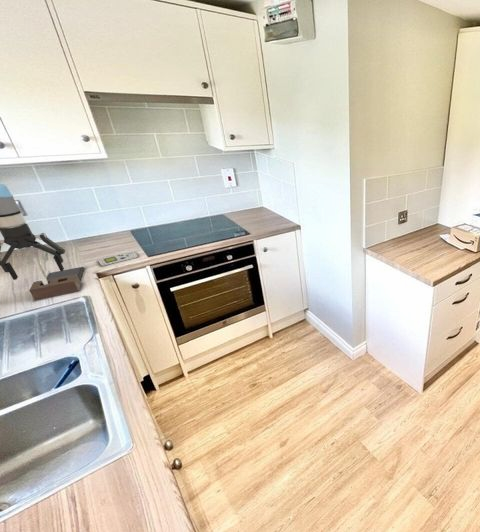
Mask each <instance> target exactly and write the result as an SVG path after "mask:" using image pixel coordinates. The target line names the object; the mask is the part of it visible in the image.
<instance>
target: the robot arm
mask: <svg viewBox="0 0 480 532" xmlns="http://www.w3.org/2000/svg"><path fill="white" fill-rule="evenodd" d="M26 222H27V221H26V218H25V217H24V215H23V213H22V211H21V210H20V208H19V205H18V204H17V202H16V200H15V198H14V195H13V194H12V192H11V191H10V190H9V188H8V187H7V185H5V184H4V183H0V234H1V236H2V238H3V239H0V252H2V246H3V245H4V244H6V245H7V246H10V247H8V249H7V251H6V253H5V254H4V256H3V257H2V259H1V260H0V267H1V268H2V270H3V271H4V273H9V276H10V277H11V278H12V280H13V281H16V280H18V278H19V276H18V274H17V272H16V271H15V269H14V267H13V265H12V264H11V262H8V260H9V258H10V257H11V255H12V254H13V252H14V251H15V249H17V250H22V249H29V248H31V247H32V248H36V249H38V250H40V251H42V252H45V253H48V254H50V255H52V256H53V260H54V262H55V263H56V266H57V268H58V269H59V271H63V270H65V267H64V265H63V263H64V258H63V257H62V255H64V254H65V252H66V250H65V249H64V248H63V247H62V246H60V245H59V244H58V243H56V242H54V241H53V240H52V239H50V238H49V237H48V236H47V235H46V233H44V232H42V233H39V234H36V235H35V234H34V233H33V232H32V230H31V228H30V226H29V224H28V223H26ZM37 239H38V240H40V241H42V242H43V243H45V245H44V244H42V243H40V242H39V241H37ZM46 245H48V246H46Z"/></svg>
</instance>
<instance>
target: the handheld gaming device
mask: <svg viewBox="0 0 480 532" xmlns="http://www.w3.org/2000/svg"><path fill="white" fill-rule="evenodd" d="M138 257H139V256H138V255H137V253H136V252H135V251H129V252H125V253H120V254H117V255H111V256H108V257H103V258H99V259H98V260H97V261H98V263H99V265H100V266H101V267H104V266H108V265H113V264H116V263H120V262H124V261H127V260H132V259H135V258H138Z"/></svg>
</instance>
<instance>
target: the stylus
mask: <svg viewBox="0 0 480 532" xmlns="http://www.w3.org/2000/svg"><path fill="white" fill-rule="evenodd" d="M32 261H33V263H34V265H35V268H36V270H37V273H38V275H39V277H40V281H42V282H43V285H46V284H49V283H48V281H47V276H46V274H45V272H44V269H43V266H42V264H41V262H40V259H39V257H38V256H35V257H32Z"/></svg>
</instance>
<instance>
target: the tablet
mask: <svg viewBox="0 0 480 532" xmlns="http://www.w3.org/2000/svg"><path fill="white" fill-rule="evenodd" d="M84 271H85V267H84V266H79V267H74V268H73V267H72V268H68V269H64V270H63V271H60V270H58V271H53V272H49V273H48V275H47V276H46V278H47V279H52V278H57V277H62V276H68V275H73V274H77V276H78V278H79V280H80V281H81V279H82V277H83V275H84V274H83V273H84Z"/></svg>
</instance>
